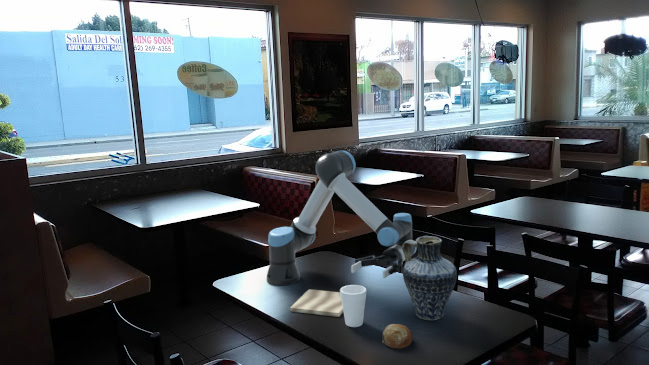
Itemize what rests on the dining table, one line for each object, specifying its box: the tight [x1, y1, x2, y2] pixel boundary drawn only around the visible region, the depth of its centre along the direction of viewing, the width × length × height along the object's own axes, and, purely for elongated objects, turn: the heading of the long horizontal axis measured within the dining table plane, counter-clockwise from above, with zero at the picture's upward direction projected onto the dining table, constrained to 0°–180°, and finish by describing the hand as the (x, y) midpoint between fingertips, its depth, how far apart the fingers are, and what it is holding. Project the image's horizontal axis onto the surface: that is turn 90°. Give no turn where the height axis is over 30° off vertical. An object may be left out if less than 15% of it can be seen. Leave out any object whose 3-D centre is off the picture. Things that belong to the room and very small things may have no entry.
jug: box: [402, 235, 458, 321], centre depth 195 cm, size 21×19×30 cm
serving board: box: [290, 288, 344, 318], centre depth 212 cm, size 20×20×2 cm
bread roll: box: [381, 323, 413, 349], centre depth 178 cm, size 10×10×8 cm
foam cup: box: [339, 284, 367, 328], centre depth 193 cm, size 10×9×13 cm
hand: (367, 272), depth 199 cm, fingers open, 13 cm apart
